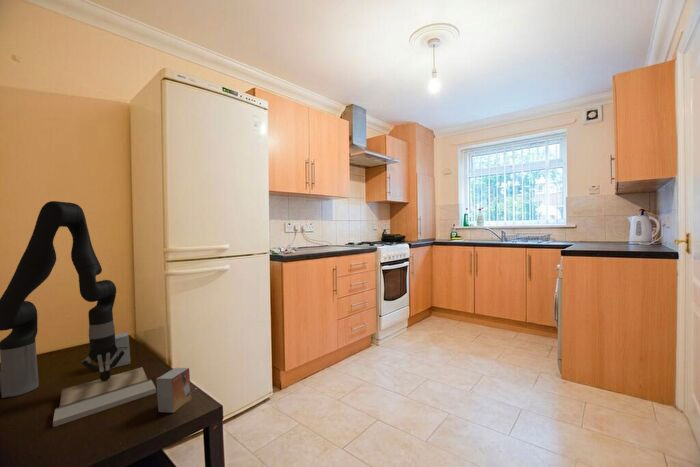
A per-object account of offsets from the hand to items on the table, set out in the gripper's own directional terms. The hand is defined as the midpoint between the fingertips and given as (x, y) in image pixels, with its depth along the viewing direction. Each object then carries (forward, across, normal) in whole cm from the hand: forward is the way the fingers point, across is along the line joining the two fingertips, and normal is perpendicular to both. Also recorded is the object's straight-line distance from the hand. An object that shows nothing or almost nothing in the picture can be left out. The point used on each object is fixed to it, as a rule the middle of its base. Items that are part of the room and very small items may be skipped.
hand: (105, 380), depth 116 cm
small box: (+2, -16, +37) cm, 40 cm away
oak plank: (+2, 0, +4) cm, 4 cm away
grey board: (+2, 0, +17) cm, 17 cm away
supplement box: (+3, -6, -22) cm, 23 cm away
